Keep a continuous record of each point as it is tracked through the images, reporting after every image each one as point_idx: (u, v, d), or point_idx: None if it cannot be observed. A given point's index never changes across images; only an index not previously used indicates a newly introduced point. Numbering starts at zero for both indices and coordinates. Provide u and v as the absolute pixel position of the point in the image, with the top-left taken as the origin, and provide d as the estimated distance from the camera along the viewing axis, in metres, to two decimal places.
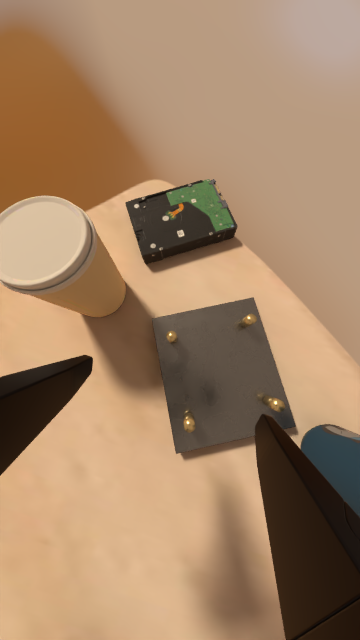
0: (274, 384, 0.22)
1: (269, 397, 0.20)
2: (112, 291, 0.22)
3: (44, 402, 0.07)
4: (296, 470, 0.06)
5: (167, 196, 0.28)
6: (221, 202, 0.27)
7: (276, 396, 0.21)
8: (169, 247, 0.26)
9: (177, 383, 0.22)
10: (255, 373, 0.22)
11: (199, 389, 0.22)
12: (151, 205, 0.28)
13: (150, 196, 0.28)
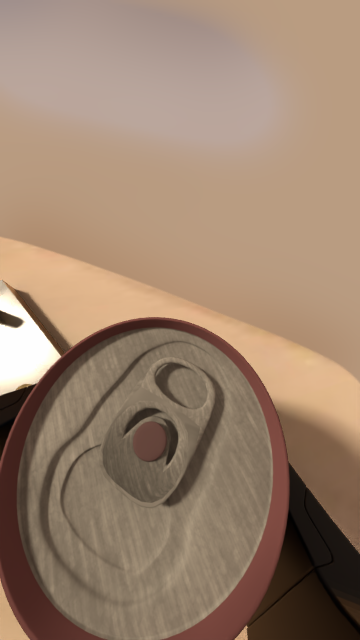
0: None
1: None
2: None
3: None
4: None
5: None
6: None
7: None
8: None
9: None
10: (20, 369, 0.14)
11: None
12: None
13: None
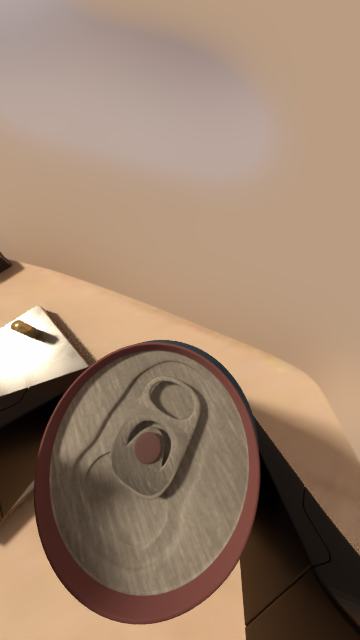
0: None
1: None
2: None
3: None
4: (262, 458, 0.06)
5: None
6: None
7: None
8: None
9: None
10: None
11: None
12: None
13: None
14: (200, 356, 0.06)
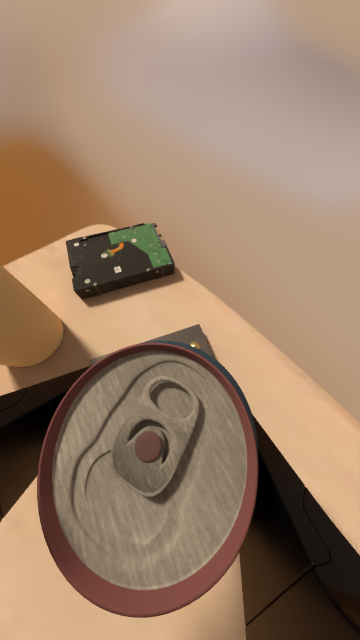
0: None
1: None
2: (37, 334, 0.19)
3: None
4: (262, 458, 0.06)
5: (108, 236, 0.29)
6: (160, 242, 0.29)
7: None
8: (104, 282, 0.25)
9: None
10: None
11: None
12: (92, 244, 0.28)
13: (92, 236, 0.29)
14: (199, 356, 0.06)
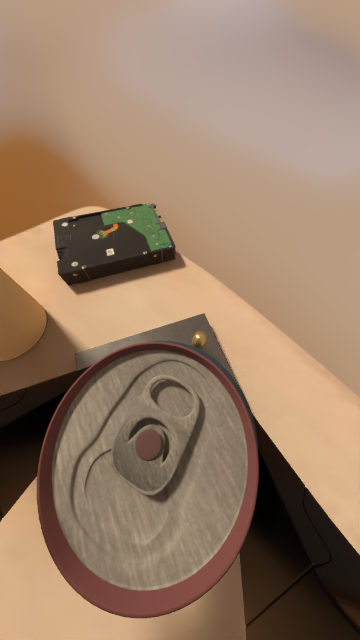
0: None
1: None
2: (9, 321, 0.16)
3: None
4: (262, 458, 0.06)
5: (102, 217, 0.26)
6: (159, 223, 0.25)
7: None
8: (93, 265, 0.22)
9: None
10: None
11: None
12: (83, 224, 0.25)
13: (83, 216, 0.26)
14: (199, 355, 0.06)
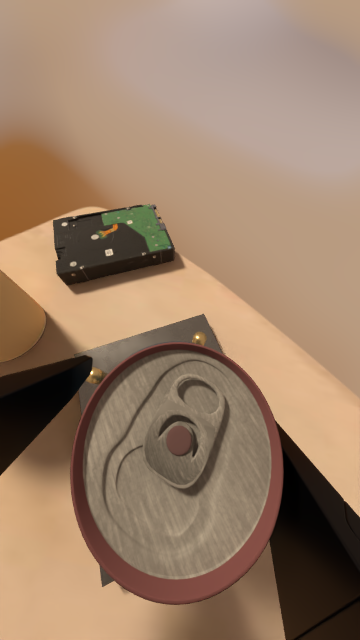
0: None
1: None
2: (8, 322, 0.16)
3: (44, 402, 0.07)
4: (296, 470, 0.06)
5: (101, 217, 0.26)
6: (159, 224, 0.25)
7: None
8: (92, 266, 0.22)
9: None
10: None
11: None
12: (82, 224, 0.25)
13: (83, 216, 0.26)
14: (223, 355, 0.06)
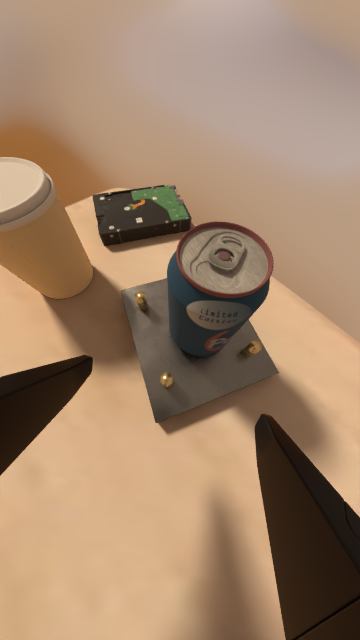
0: (250, 336, 0.21)
1: (247, 345, 0.20)
2: (76, 260, 0.21)
3: (44, 402, 0.07)
4: (296, 470, 0.06)
5: (131, 194, 0.32)
6: (179, 200, 0.31)
7: None
8: (126, 229, 0.27)
9: (151, 347, 0.20)
10: None
11: (175, 351, 0.20)
12: (116, 199, 0.31)
13: (116, 192, 0.31)
14: (243, 227, 0.12)
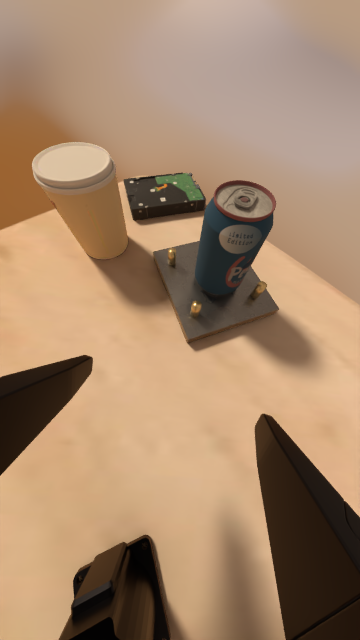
0: (256, 284, 0.27)
1: None
2: (121, 225, 0.27)
3: (44, 402, 0.07)
4: (296, 470, 0.06)
5: (155, 179, 0.38)
6: (195, 185, 0.37)
7: None
8: (153, 206, 0.33)
9: (180, 291, 0.26)
10: None
11: (199, 293, 0.26)
12: (143, 183, 0.37)
13: (143, 178, 0.37)
14: (255, 183, 0.18)
